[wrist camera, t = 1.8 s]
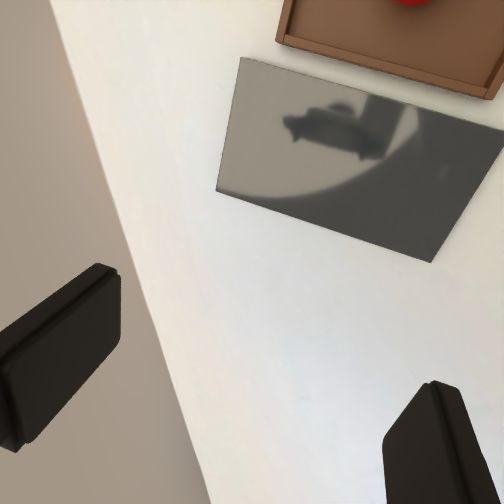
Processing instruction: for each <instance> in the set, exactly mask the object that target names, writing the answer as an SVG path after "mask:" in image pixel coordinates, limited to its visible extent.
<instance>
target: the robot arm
mask: <svg viewBox="0 0 504 504" xmlns="http://www.w3.org/2000/svg"><path fill="white" fill-rule="evenodd" d="M120 327H121V277H120V275H118V274H117V270H116V269H115V268H112V267H109V266H106V265H103V264H101V263H95V264H94V265H92V266H91V267H89V268H88V269H87V270H85V271H84V272H82V273H81V274H80V275H78V276H77V277H76V278H74V279H73V280H71V281H70V282H69V283H67V284H66V285H64V286H63V287H62V288H60V289H59V290H57V291H56V292H55V293H53V294H52V295H51V296H49V297H48V298H46V299H45V300H44V301H42V302H41V303H39V304H38V305H37V306H35V307H34V308H33V309H31V310H30V311H28V312H27V313H26V314H24V315H23V316H22V317H20V318H19V319H17V320H16V321H15V322H13V323H12V324H10V325H9V326H8V327H6V328H5V329H4V330H2V331H1V332H0V446H1V447H3V448H5V449H8V450H10V451H12V452H14V453H16V452H18V451H19V449H20V448H21V447H22V446H23V445H24V444H25V443H31V442H32V441H33V440H35V438H36V437H38V435H39V434H40V433H41V432H42V431H43V429H44V428H45V427H46V426H47V425H48V424H49V423H50V421H51V420H52V419H53V418H54V417H55V416H56V415H57V414H58V412H59V411H60V410H61V409H62V408H63V407H64V406H65V404H66V403H67V402H68V401H69V400H70V399H71V398H72V396H73V395H74V394H75V393H76V392H77V391H78V390H79V388H80V387H81V386H82V385H83V384H84V383H85V382H86V380H87V379H88V378H89V377H90V376H91V375H92V374H93V372H94V371H95V370H96V369H97V368H98V367H99V365H100V364H101V363H102V362H103V361H104V360H105V359H106V358H107V356H108V355H109V354H110V353H111V352H112V351H113V349H114V348H115V347H116V346H117V344H118V342H119V340H120V333H121V331H120V330H121V328H120ZM382 453H383V464H384V475H385V487H386V498H387V504H501V503H500V500H499V497H498V494H497V491H496V488H495V486H494V483H493V480H492V477H491V474H490V472H489V469H488V466H487V463H486V461H485V459H484V456H483V454H482V453H481V450H480V447H479V444H478V441H477V438H476V435H475V433H474V430H473V427H472V424H471V421H470V418H469V416H468V413H467V410H466V407H465V404H464V401H463V399H462V396H461V393H460V391H459V390H458V389H457V388H456V387H453V386H450V385H447V384H444V383H441V382H438V381H435V380H434V381H432V382H431V383H430V384H428V383H424V384H423V385H422V386H421V388H420V389H419V390H418V392H417V393H416V394H415V396H414V397H413V399H412V400H411V401H410V403H409V404H408V405H407V407H406V408H405V409H404V411H403V412H402V413H401V415H400V416H399V417H398V419H397V420H396V421H395V423H394V424H393V425H392V427H391V428H390V430H389V431H388V432H387V434H386V435H385V437H384V439H383V444H382Z"/></svg>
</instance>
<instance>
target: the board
mask: <svg viewBox="0 0 504 504" xmlns="http://www.w3.org/2000/svg"><path fill="white" fill-rule="evenodd" d="M503 147H504V131H503V130H500V129H496V128H493V127H489V126H486V125H482V124H479V123H475V122H472V121H468V120H465V119H461V118H457V117H454V116H450V115H447V114H443V113H440V112H436V111H433V110H429V109H426V108H422V107H418V106H415V105H411V104H408V103H404V102H401V101H397V100H394V99H390V98H387V97H383V96H379V95H376V94H372V93H369V92H365V91H362V90H358V89H355V88H351V87H348V86H344V85H340V84H337V83H333V82H330V81H326V80H323V79H319V78H316V77H312V76H309V75H305V74H301V73H298V72H294V71H291V70H287V69H284V68H280V67H277V66H273V65H270V64H266V63H263V62H259V61H255V60H252V59H248V58H244V57H241V59H240V64H239V69H238V75H237V80H236V85H235V90H234V96H233V101H232V106H231V111H230V117H229V122H228V127H227V133H226V138H225V143H224V148H223V154H222V159H221V164H220V170H219V175H218V180H217V185H216V191H217V192H220V193H223V194H226V195H229V196H232V197H235V198H238V199H241V200H244V201H247V202H250V203H253V204H256V205H259V206H262V207H265V208H268V209H271V210H274V211H277V212H280V213H283V214H286V215H289V216H292V217H295V218H298V219H301V220H303V221H306V222H309V223H312V224H315V225H318V226H321V227H324V228H327V229H330V230H333V231H336V232H339V233H342V234H345V235H348V236H351V237H354V238H357V239H360V240H363V241H366V242H369V243H372V244H375V245H378V246H381V247H384V248H387V249H390V250H393V251H396V252H399V253H402V254H405V255H408V256H411V257H414V258H417V259H420V260H423V261H426V262H429V263H431V262H432V260H433V259H434V257H435V256H436V254H437V252H438V251H439V249H440V248H441V246H442V244H443V243H444V241H445V240H446V238H447V236H448V235H449V233H450V232H451V230H452V228H453V227H454V225H455V224H456V222H457V220H458V219H459V217H460V216H461V214H462V212H463V211H464V209H465V208H466V206H467V204H468V203H469V201H470V200H471V198H472V196H473V195H474V193H475V192H476V190H477V188H478V187H479V185H480V184H481V182H482V180H483V179H484V177H485V176H486V174H487V172H488V171H489V169H490V168H491V166H492V164H493V163H494V161H495V160H496V158H497V156H498V155H499V153H500V152H501V150H502V148H503Z"/></svg>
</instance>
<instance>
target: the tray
mask: <svg viewBox="0 0 504 504" xmlns="http://www.w3.org/2000/svg"><path fill="white" fill-rule="evenodd" d="M275 41H276V42H278V43H280V44H283V45H287V46H290V47H294V48H298V49H301V50H305V51H309V52H312V53H316V54H320V55H323V56H327V57H331V58H334V59H338V60H342V61H345V62H349V63H352V64H356V65H360V66H363V67H367V68H371V69H374V70H378V71H382V72H385V73H389V74H393V75H396V76H400V77H404V78H407V79H411V80H415V81H418V82H422V83H426V84H429V85H433V86H437V87H440V88H444V89H448V90H451V91H455V92H458V93H462V94H466V95H469V96H473V97H477V98H480V99H485V100H493V98H494V97H495V95H496V93H497V91H498V90H499V88H500V86H501V84H502V83H503V81H504V0H432V1H430V2H428V3H425V4H422V5H416V6H409V5H404V4H401V3H400V2H398V1H396V0H284V4H283V8H282V12H281V17H280V21H279V25H278V30H277V34H276V38H275Z"/></svg>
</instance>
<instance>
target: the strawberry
mask: <svg viewBox="0 0 504 504" xmlns="http://www.w3.org/2000/svg"><path fill="white" fill-rule="evenodd" d="M396 1H398V2H400V3H401V4H404V5H409V6H416V5H422V4H425V3H428V2H430V1H432V0H396Z"/></svg>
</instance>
